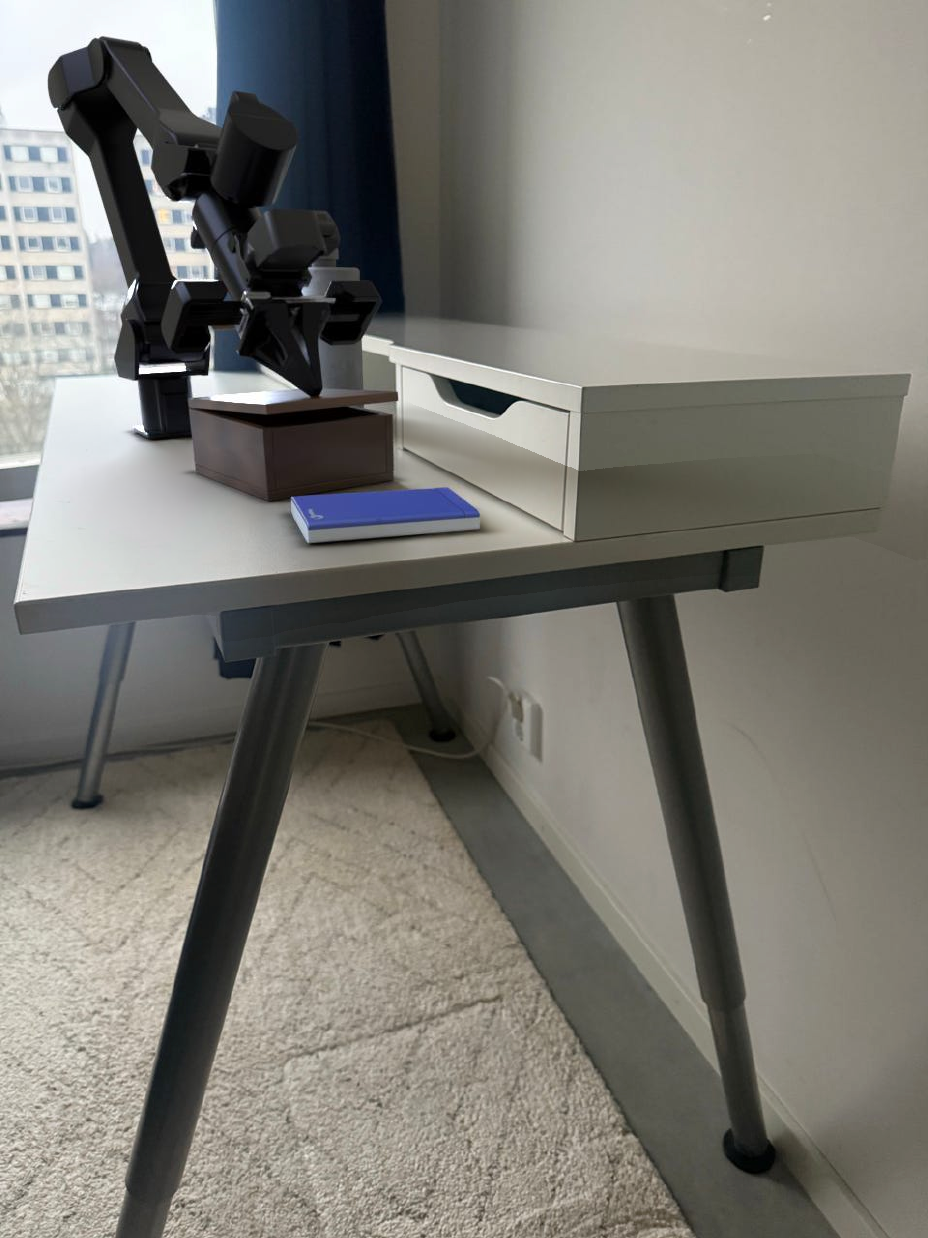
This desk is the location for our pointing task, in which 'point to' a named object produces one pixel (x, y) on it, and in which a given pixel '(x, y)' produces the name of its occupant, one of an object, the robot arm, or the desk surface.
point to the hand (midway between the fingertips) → (316, 392)
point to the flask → (339, 360)
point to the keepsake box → (293, 449)
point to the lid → (291, 400)
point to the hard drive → (382, 514)
